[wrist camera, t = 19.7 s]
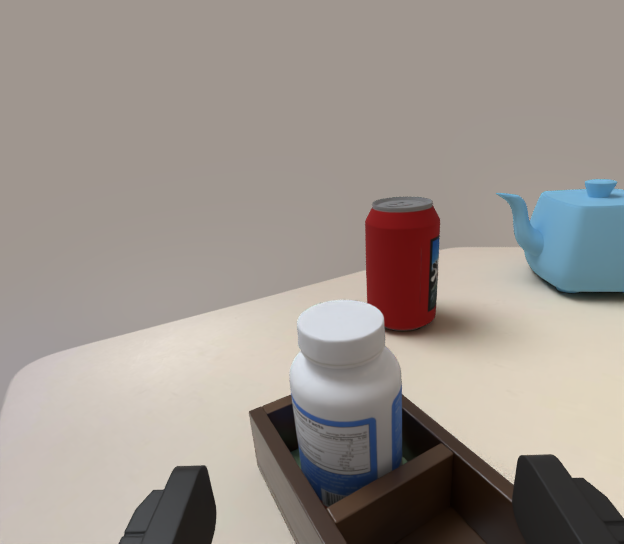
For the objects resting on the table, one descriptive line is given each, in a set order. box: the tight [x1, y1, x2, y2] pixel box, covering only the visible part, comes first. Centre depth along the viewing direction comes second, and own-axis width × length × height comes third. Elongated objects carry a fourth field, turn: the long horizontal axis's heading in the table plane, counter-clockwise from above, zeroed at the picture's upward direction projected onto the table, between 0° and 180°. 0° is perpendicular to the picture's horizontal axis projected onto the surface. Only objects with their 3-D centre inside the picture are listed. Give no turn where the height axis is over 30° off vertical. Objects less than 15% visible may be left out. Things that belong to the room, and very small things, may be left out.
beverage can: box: [365, 197, 440, 331], centre depth 36 cm, size 7×7×12 cm
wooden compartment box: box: [249, 395, 526, 544], centre depth 17 cm, size 8×15×4 cm, turn 28°
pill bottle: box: [290, 300, 402, 509], centre depth 19 cm, size 6×5×10 cm
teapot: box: [496, 179, 624, 293], centre depth 42 cm, size 12×18×12 cm
